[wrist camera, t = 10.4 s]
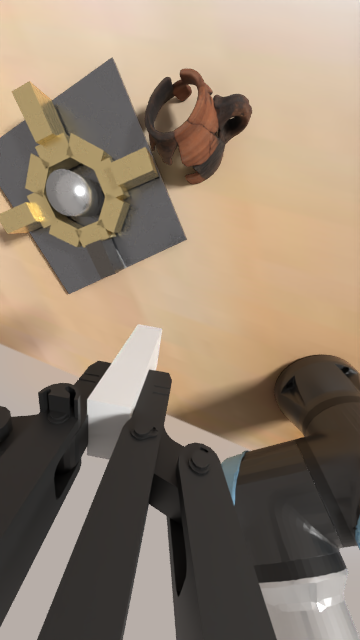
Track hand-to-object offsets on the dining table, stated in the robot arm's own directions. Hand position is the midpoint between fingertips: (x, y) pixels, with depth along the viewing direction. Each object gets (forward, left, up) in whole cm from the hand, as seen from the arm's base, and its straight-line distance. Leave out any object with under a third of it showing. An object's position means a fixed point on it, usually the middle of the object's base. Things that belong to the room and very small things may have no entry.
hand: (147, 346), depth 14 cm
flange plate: (+15, +8, -25) cm, 30 cm away
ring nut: (+15, +8, -23) cm, 29 cm away
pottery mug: (+15, -9, -25) cm, 30 cm away
